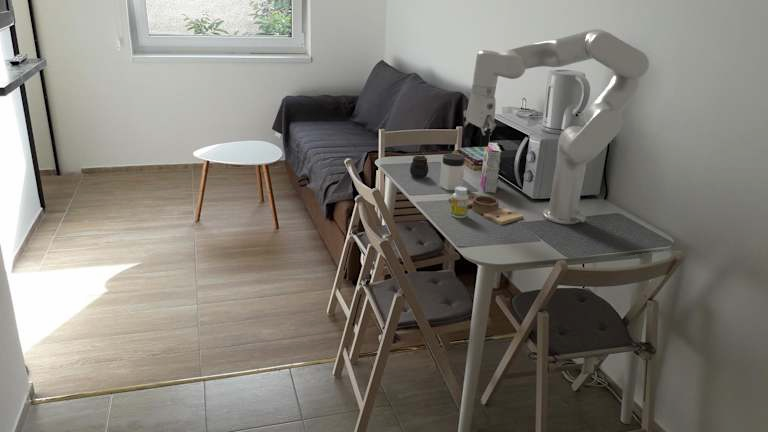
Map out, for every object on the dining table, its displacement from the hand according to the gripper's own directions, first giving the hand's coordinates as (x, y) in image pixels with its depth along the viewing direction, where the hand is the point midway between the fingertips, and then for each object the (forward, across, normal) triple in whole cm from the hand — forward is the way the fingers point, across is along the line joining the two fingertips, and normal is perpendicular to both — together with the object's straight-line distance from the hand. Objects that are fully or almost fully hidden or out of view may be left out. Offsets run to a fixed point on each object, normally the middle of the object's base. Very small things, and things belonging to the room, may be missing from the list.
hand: (475, 142), depth 210 cm
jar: (+25, +22, -8) cm, 34 cm away
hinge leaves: (+24, -1, -7) cm, 25 cm away
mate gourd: (+25, +36, -2) cm, 44 cm away
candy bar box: (+24, +17, -22) cm, 37 cm away
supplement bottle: (+25, -3, +4) cm, 25 cm away
